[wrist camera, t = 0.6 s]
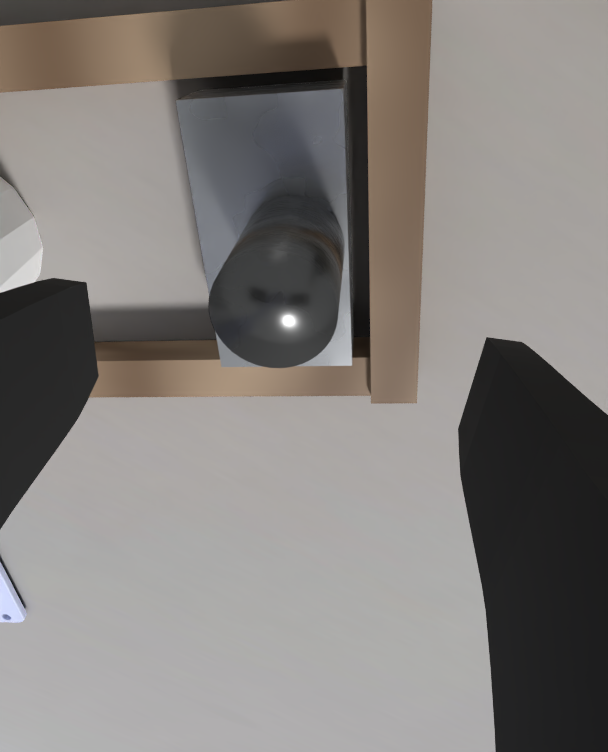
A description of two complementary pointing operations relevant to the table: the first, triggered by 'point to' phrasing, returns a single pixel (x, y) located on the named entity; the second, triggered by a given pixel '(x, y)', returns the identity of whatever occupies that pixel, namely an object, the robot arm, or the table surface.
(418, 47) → the wooden tray
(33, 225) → the white tapered cylinder
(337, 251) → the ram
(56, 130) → the table surface
